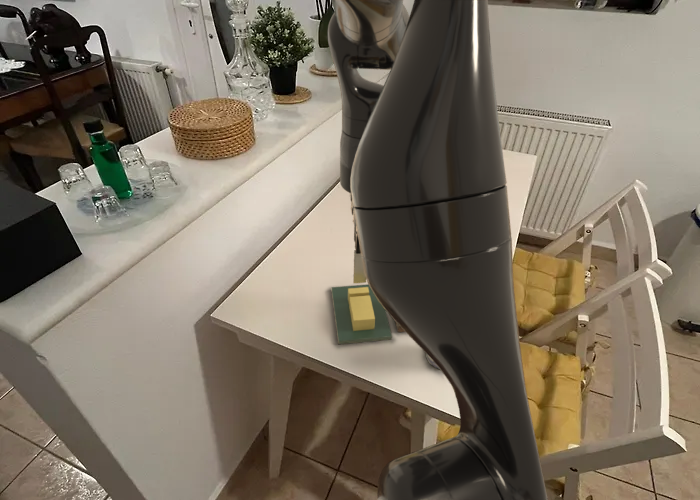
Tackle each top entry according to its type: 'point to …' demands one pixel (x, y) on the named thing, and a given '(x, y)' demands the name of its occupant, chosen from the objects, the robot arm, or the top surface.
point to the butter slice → (357, 292)
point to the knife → (358, 267)
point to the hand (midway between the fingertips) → (361, 245)
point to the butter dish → (345, 322)
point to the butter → (361, 313)
